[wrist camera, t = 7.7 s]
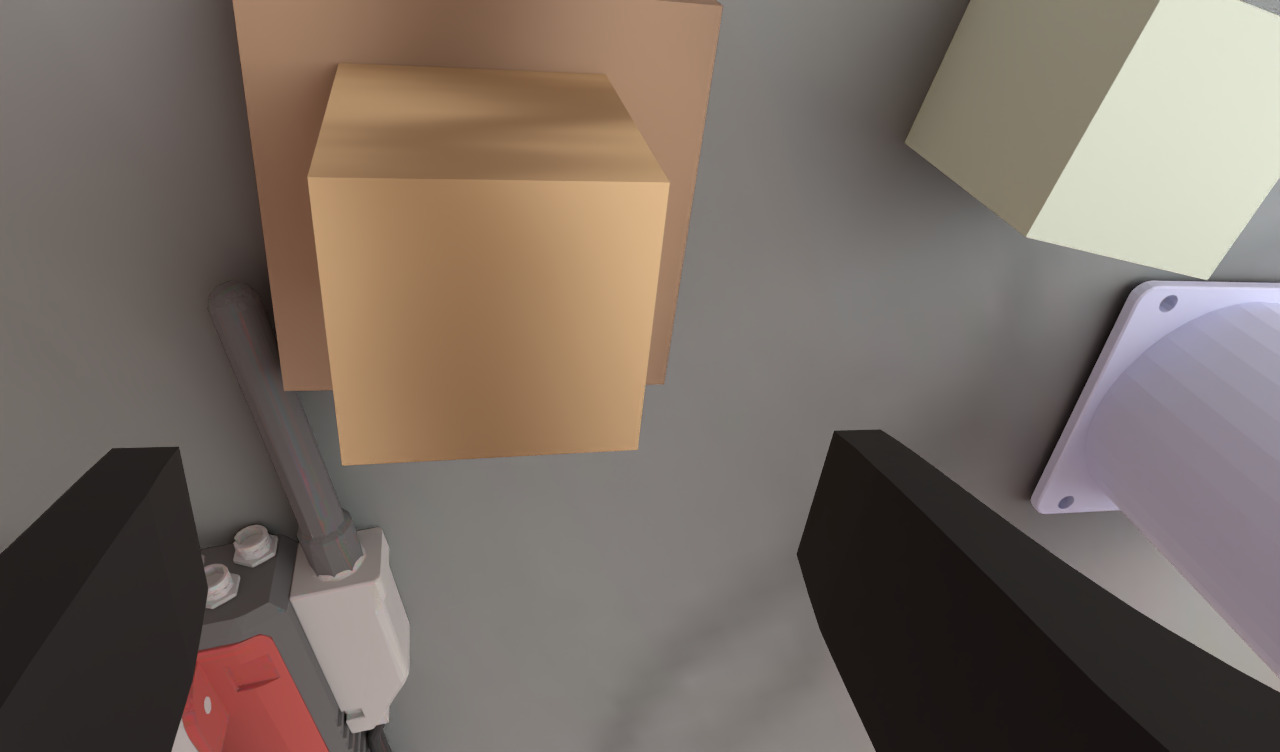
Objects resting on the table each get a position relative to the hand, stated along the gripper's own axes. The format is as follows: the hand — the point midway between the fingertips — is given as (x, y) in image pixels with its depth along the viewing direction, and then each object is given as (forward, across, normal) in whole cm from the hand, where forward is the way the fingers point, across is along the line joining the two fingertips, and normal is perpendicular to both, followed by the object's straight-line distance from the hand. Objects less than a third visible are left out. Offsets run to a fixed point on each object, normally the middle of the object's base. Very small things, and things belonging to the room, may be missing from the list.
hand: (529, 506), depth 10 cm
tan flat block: (+11, 0, 0) cm, 11 cm away
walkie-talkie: (+11, +6, +13) cm, 18 cm away
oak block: (+8, 0, 0) cm, 8 cm away
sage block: (+10, -12, -3) cm, 16 cm away
